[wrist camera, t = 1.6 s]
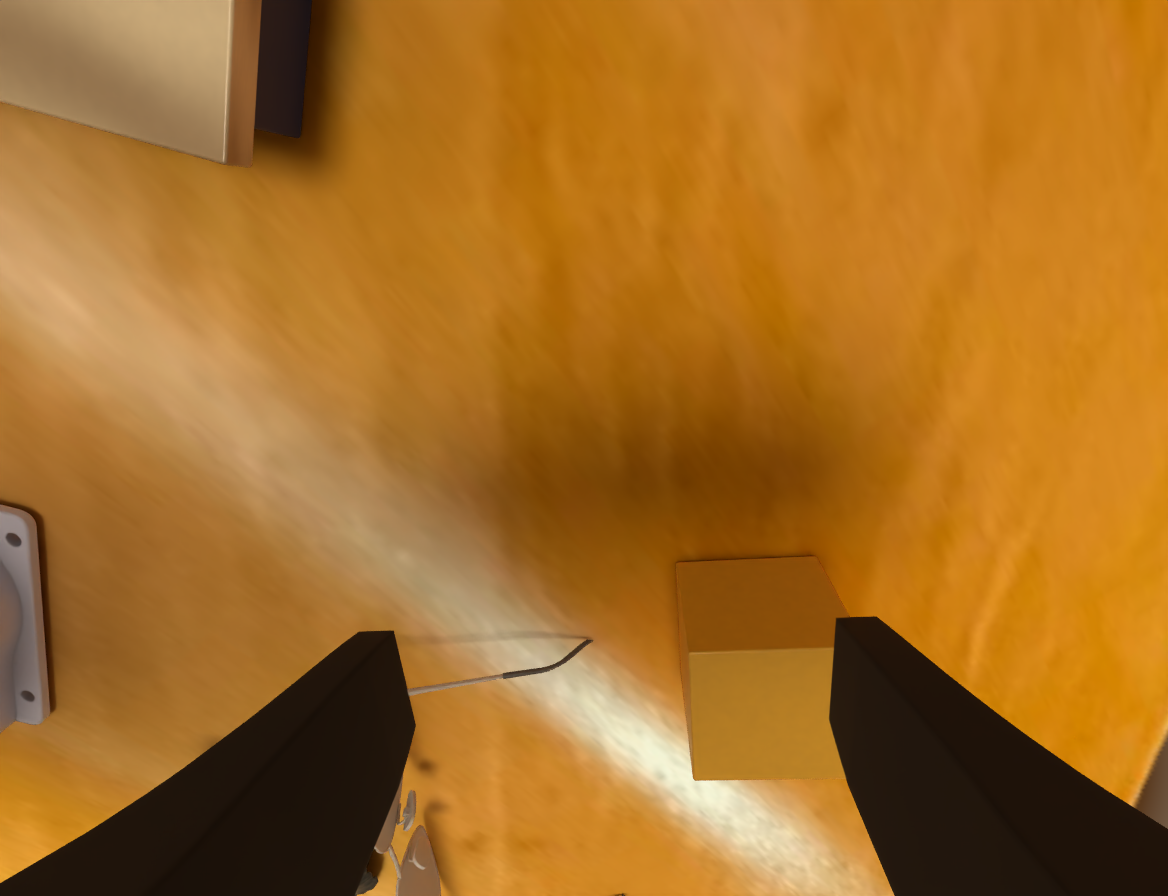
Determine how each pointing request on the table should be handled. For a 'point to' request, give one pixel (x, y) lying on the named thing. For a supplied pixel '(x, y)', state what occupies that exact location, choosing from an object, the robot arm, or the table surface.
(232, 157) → the box
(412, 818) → the eyeglasses
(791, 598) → the block
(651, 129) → the table surface
